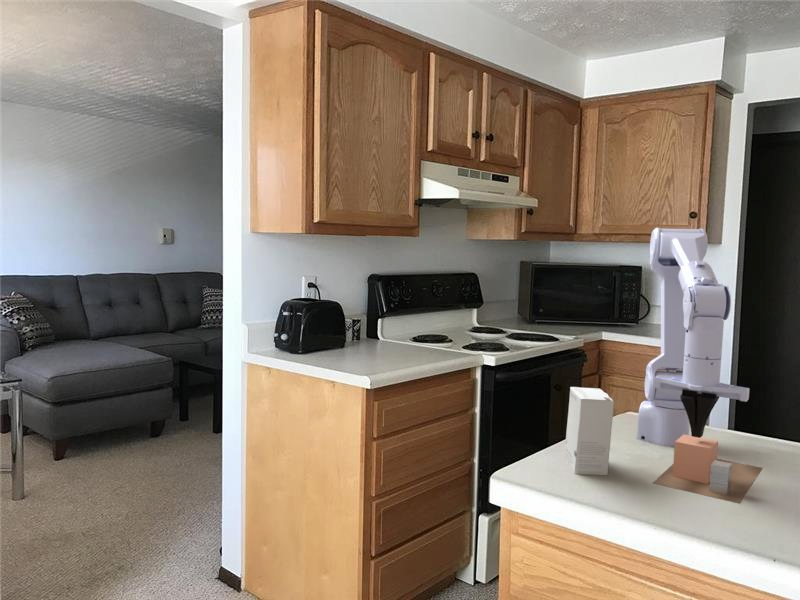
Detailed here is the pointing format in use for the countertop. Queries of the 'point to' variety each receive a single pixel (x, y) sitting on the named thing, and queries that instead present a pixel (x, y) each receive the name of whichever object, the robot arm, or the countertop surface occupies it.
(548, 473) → the countertop surface
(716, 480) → the white sugar cube
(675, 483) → the board
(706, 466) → the salmon pink cube
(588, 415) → the skincare box
